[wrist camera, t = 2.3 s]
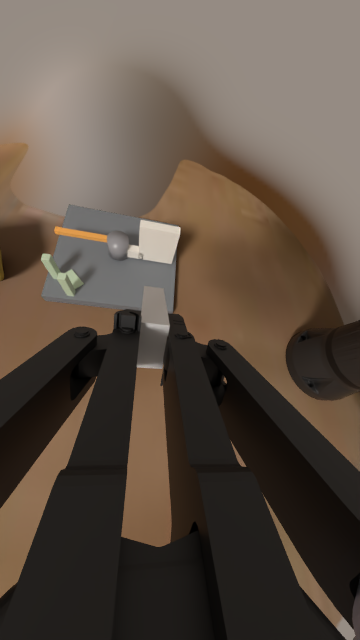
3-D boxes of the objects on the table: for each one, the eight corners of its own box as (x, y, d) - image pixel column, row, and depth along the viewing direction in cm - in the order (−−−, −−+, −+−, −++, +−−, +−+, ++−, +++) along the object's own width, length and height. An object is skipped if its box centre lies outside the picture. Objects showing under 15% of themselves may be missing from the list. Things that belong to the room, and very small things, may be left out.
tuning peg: (172, 253, 47) (180, 222, 39) (171, 268, 46) (179, 239, 37) (63, 235, 43) (47, 196, 35) (59, 251, 42) (41, 214, 33)
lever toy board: (176, 231, 52) (183, 204, 45) (171, 315, 45) (178, 298, 37) (71, 211, 48) (60, 178, 41) (45, 300, 41) (25, 278, 33)
